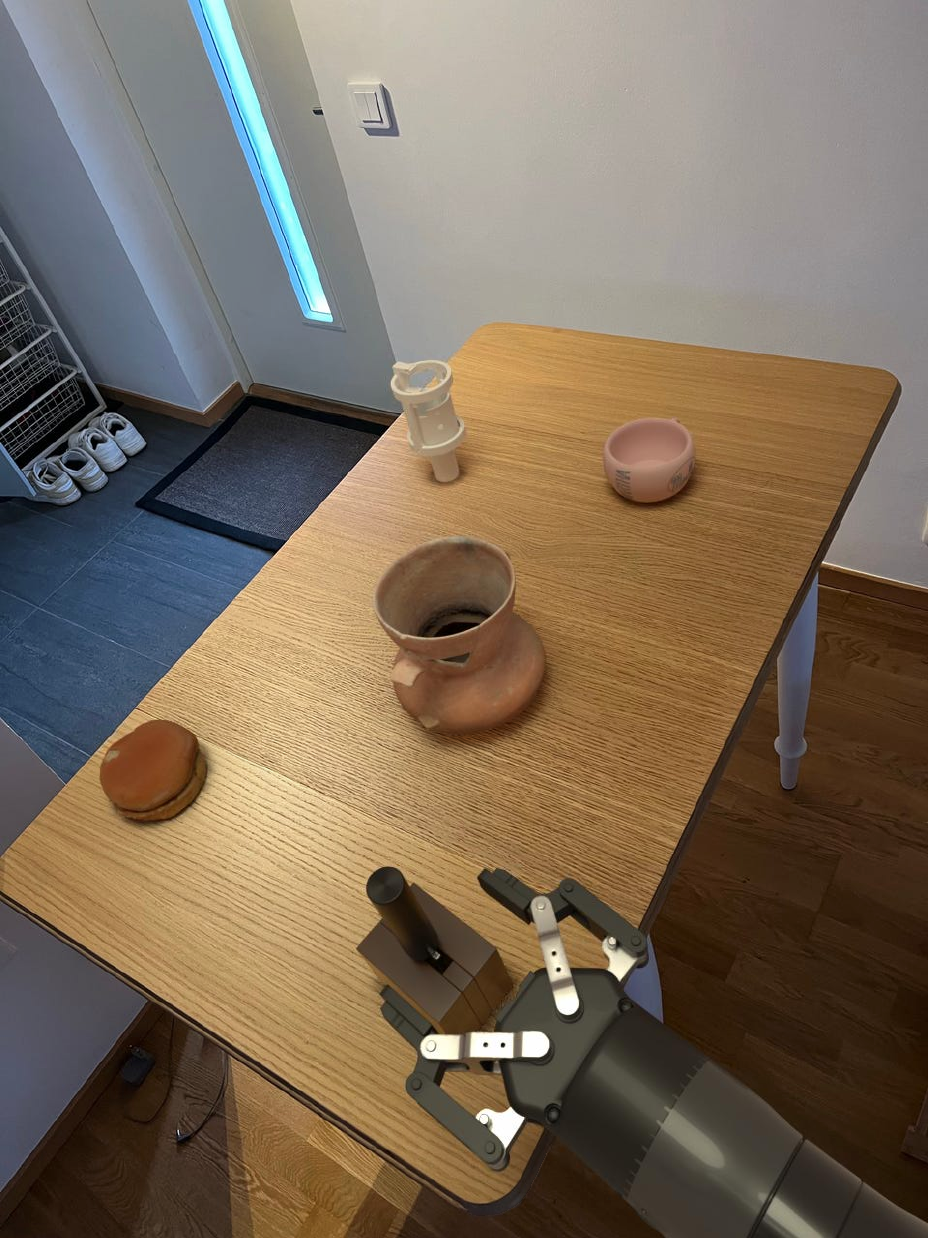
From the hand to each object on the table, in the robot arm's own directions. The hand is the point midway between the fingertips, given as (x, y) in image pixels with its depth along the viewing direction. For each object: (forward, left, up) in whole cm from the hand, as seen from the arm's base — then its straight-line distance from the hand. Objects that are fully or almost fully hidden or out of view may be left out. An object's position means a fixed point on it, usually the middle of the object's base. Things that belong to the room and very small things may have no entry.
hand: (435, 934), depth 49 cm
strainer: (+55, +33, -15) cm, 66 cm away
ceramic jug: (+27, +14, -15) cm, 34 cm away
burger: (+6, +38, -15) cm, 42 cm away
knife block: (+1, +3, -15) cm, 15 cm away
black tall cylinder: (+1, +3, -15) cm, 15 cm away
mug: (+60, +8, -15) cm, 62 cm away
